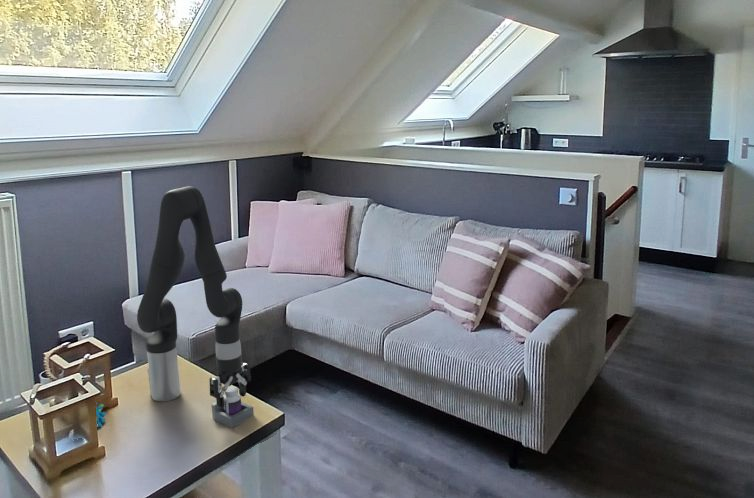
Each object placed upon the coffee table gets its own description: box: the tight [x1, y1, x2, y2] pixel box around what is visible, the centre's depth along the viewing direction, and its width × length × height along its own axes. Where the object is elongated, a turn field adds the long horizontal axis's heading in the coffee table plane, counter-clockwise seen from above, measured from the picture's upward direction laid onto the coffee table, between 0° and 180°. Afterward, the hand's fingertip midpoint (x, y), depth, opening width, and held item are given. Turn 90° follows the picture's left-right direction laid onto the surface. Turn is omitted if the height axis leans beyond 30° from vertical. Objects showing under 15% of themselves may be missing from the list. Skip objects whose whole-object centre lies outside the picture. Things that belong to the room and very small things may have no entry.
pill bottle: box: [223, 385, 242, 416], centre depth 192 cm, size 5×5×10 cm
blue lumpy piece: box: [96, 402, 106, 428], centre depth 189 cm, size 11×6×10 cm
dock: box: [211, 401, 255, 428], centre depth 192 cm, size 9×9×5 cm
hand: (231, 401), depth 192 cm, fingers open, 8 cm apart
